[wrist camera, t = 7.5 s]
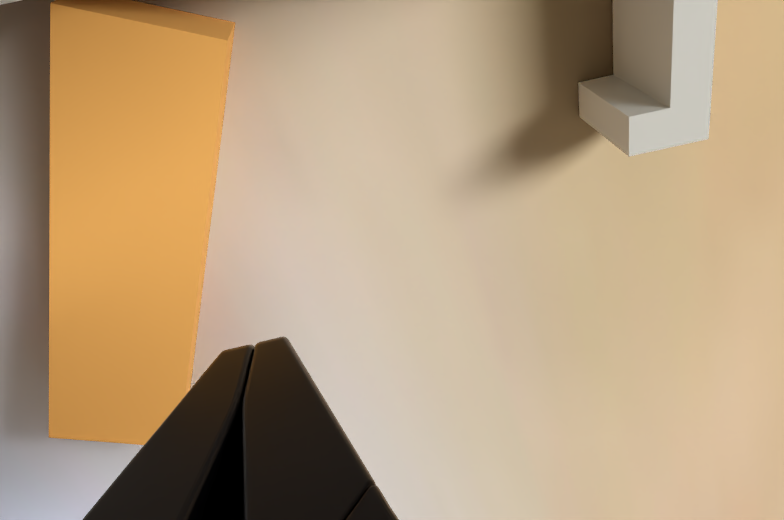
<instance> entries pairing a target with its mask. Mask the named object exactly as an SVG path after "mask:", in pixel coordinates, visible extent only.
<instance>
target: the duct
mask: <svg viewBox="0 0 784 520" xmlns="http://www.w3.org/2000/svg"><path fill="white" fill-rule="evenodd" d="M16 1H21V0H0V5H2V4H6V3H11V2H16ZM717 2H718V0H613V75H610V76H606V77H601V78H596V79H592V80H587V81H582V82H578V91H579V117H580V118H581V119H582V120H584V121H585V122H586V123H588V124H589V125H590V126H591V127H593V128H594V129H595V130H596V131H598V132H599V133H600V134H601V135H603V136H604V137H605V138H606V139H608V140H609V141H610V142H611V143H613V144H614V145H615V146H616V147H618V148H619V149H620V150H622V151H623V152H624V153H625V154H627V155H628V156H633V155H638V154H642V153H647V152H651V151H656V150H661V149H665V148H670V147H674V146H679V145H683V144H688V143H693V142H697V141H702V140H706V139H709V124H710V108H711V93H712V78H713V63H714V47H715V32H716V17H717Z"/></svg>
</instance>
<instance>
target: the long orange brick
mask: <svg viewBox="0 0 784 520" xmlns="http://www.w3.org/2000/svg"><path fill="white" fill-rule="evenodd" d="M234 28H235V22H230V21H226V20H221V19H216V18H212V17H207V16H203V15H198V14H193V13H189V12H184V11H179V10H175V9H170V8H165V7H161V6H156V5H151V4H147V3H142V2H138V1H133V0H56V1H54V2H52V3H50V221H49V438H62V439H75V440H88V441H101V442H114V443H126V444H139V445H145V444H146V442H147V441H148V440H149V439H150V438H151V436H152V435H153V434H154V433H155V432H156V430H157V429H158V428H159V427H160V426H161V424H162V423H163V422H164V421H165V420H166V418H167V417H168V416H169V415H170V413H171V412H172V411H173V410H174V409H175V407H176V406H177V405H178V404H179V403H180V401H181V400H182V399H183V398H184V397H185V395H186V394H187V393H188V392H189V391H190V386H191V378H192V370H193V362H194V353H195V345H196V337H197V329H198V321H199V313H200V305H201V296H202V288H203V280H204V272H205V264H206V256H207V248H208V240H209V231H210V223H211V215H212V207H213V199H214V191H215V183H216V174H217V166H218V158H219V150H220V142H221V134H222V126H223V118H224V109H225V101H226V93H227V85H228V77H229V69H230V61H231V52H232V44H233V36H234Z"/></svg>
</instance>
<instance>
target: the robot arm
mask: <svg viewBox="0 0 784 520" xmlns="http://www.w3.org/2000/svg"><path fill="white" fill-rule="evenodd" d="M83 520H398V518H397V517H396V515H395V514H394V512H393V511H392V509H391V508H390V506H389V504H388V503H387V501H386V499H385V498H384V496H383V494H382V493H381V491H380V489H379V488H378V487H377V486H376V484H375V482H374V480H373V479H372V477H371V475H370V474H369V472H368V470H367V469H366V467H365V465H364V464H363V462H362V460H361V459H360V457H359V455H358V454H357V452H356V450H355V449H354V447H353V446H352V444H351V442H350V441H349V439H348V437H347V436H346V434H345V432H344V431H343V429H342V427H341V426H340V424H339V422H338V421H337V419H336V417H335V416H334V414H333V413H332V411H331V409H330V408H329V406H328V404H327V403H326V401H325V399H324V398H323V396H322V394H321V393H320V391H319V389H318V388H317V386H316V384H315V383H314V381H313V380H312V378H311V376H310V375H309V373H308V371H307V370H306V368H305V366H304V365H303V363H302V361H301V360H300V358H299V356H298V355H297V353H296V352H295V350H294V348H293V347H292V345H291V343H290V342H289V340H288V339H287V338H286V337H279V338H275V339H271V340H267V341H263V342H259V343H257V344H256V345H255V347H254V346H253V345H246V346H241V347H237V348H233V349H228V350H225V351H223V352H222V353H221V354H219V356H218V357H217V358H216V359H215V360H214V362H213V363H212V364H211V365H210V366H209V368H208V369H207V370H206V371H205V372H204V374H203V375H202V376H201V377H200V379H199V380H198V381H197V382H196V383H195V385H194V386H193V387H192V388H191V389H190V391H189V392H188V393H187V394H186V395H185V397H184V398H183V399H182V400H181V401H180V403H179V404H178V405H177V406H176V407H175V409H174V410H173V411H172V412H171V413H170V415H169V416H168V417H167V418H166V420H165V421H164V422H163V423H162V424H161V426H160V427H159V428H158V429H157V430H156V432H155V433H154V434H153V435H152V436H151V438H150V439H149V440H148V441H147V442H146V444H145V445H144V446H143V447H142V448H141V450H140V451H139V452H138V453H137V454H136V456H135V457H134V458H133V459H132V461H131V462H130V463H129V464H128V465H127V467H126V468H125V469H124V470H123V471H122V473H121V474H120V475H119V476H118V477H117V479H116V480H115V481H114V482H113V483H112V485H111V486H110V487H109V488H108V489H107V491H106V492H105V493H104V494H103V495H102V497H101V498H100V499H99V500H98V502H97V503H96V504H95V505H94V506H93V508H92V509H91V510H90V511H89V512H88V514H87V515H86V516H85V517H84V518H83Z"/></svg>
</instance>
